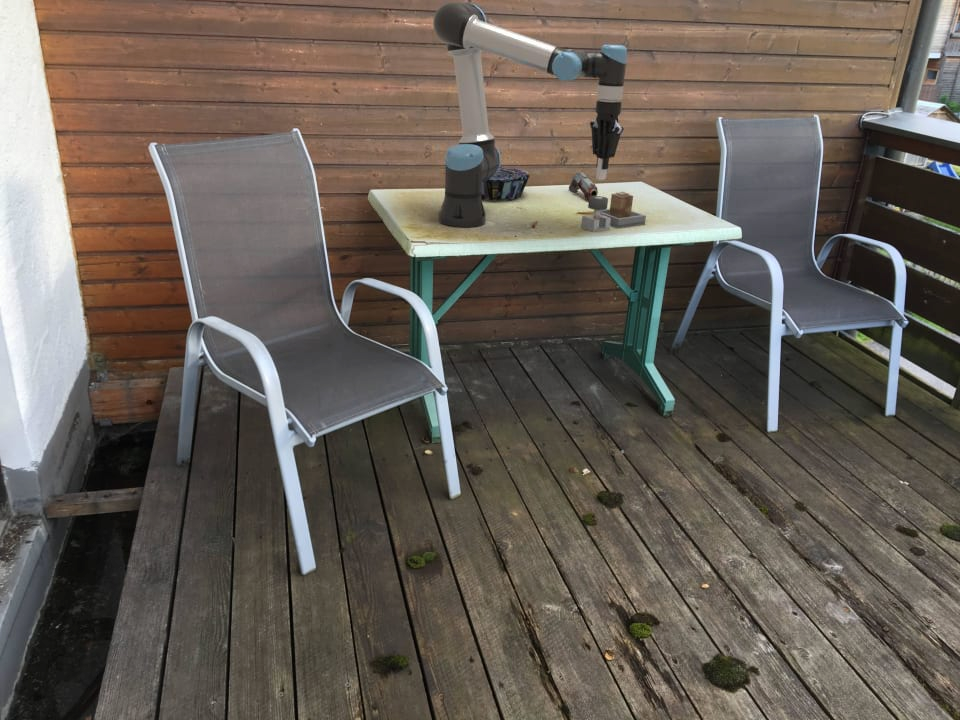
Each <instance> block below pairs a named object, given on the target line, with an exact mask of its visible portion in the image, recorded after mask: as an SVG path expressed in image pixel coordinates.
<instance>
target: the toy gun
mask: <svg viewBox="0 0 960 720" xmlns="http://www.w3.org/2000/svg"><path fill="white" fill-rule="evenodd" d="M568 189H569V190H568V191H570V192H572V193H577V192H579V191H578V190H580V191H581V192H582V194H583V196H584V198H585V199H586V201H588V202H589V197H591V196H598V194H599V192H598V186H596V184H595V183H594V182H593V181H592V180H590V179H589V178H588V176H587V175H586V174H585V173H584V172H580V171H577V173H575V175H573V177H572V179H571V182H570V183H569V186H568Z"/></svg>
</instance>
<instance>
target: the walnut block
mask: <svg viewBox="0 0 960 720" xmlns="http://www.w3.org/2000/svg"><path fill="white" fill-rule="evenodd" d="M633 201H634V195H631V194H630V193H628V192H625V191H619V192H618V191H617V192H615V193H611V198H610V203H609V204H610V205H609V209H610V212H609V215H611V216H614V217H617V218H625V217H631V211H633Z"/></svg>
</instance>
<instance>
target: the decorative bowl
mask: <svg viewBox="0 0 960 720" xmlns="http://www.w3.org/2000/svg"><path fill="white" fill-rule="evenodd" d="M530 178H531V176H530V173H529V172H528V171H526V170H522V169H517V168H510V167H502V166H500V168H499V170H498V171H497V172H496V174H494V176H493V177H491V178H490V179H488V180H485V181H483V182H482V190H481V200H482V201H483V200H485V201H490V202H491V201H492V202H500V201H501V202H505V201H507V202H509V201H513V200H516V199H518V198H521V197H522V194H523V192H524V190H525V187H526V185H527V183H528V181H529V179H530Z"/></svg>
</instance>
